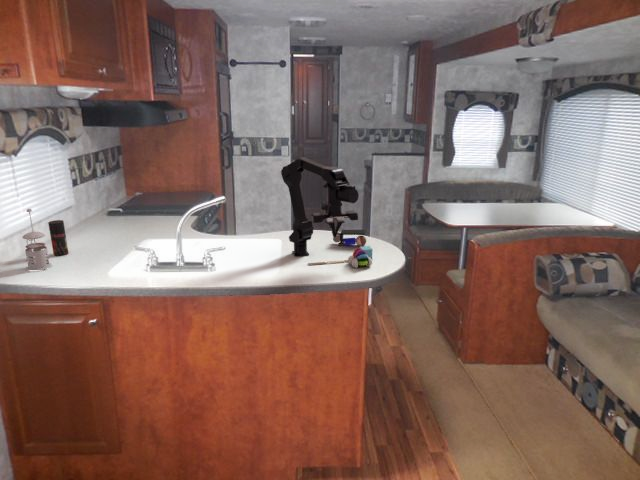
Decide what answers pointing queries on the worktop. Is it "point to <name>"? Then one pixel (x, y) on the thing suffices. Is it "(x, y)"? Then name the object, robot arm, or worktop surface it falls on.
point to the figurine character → (347, 241)
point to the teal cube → (367, 250)
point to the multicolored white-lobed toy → (359, 258)
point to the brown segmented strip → (328, 262)
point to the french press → (36, 251)
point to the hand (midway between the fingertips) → (334, 236)
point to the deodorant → (58, 238)
